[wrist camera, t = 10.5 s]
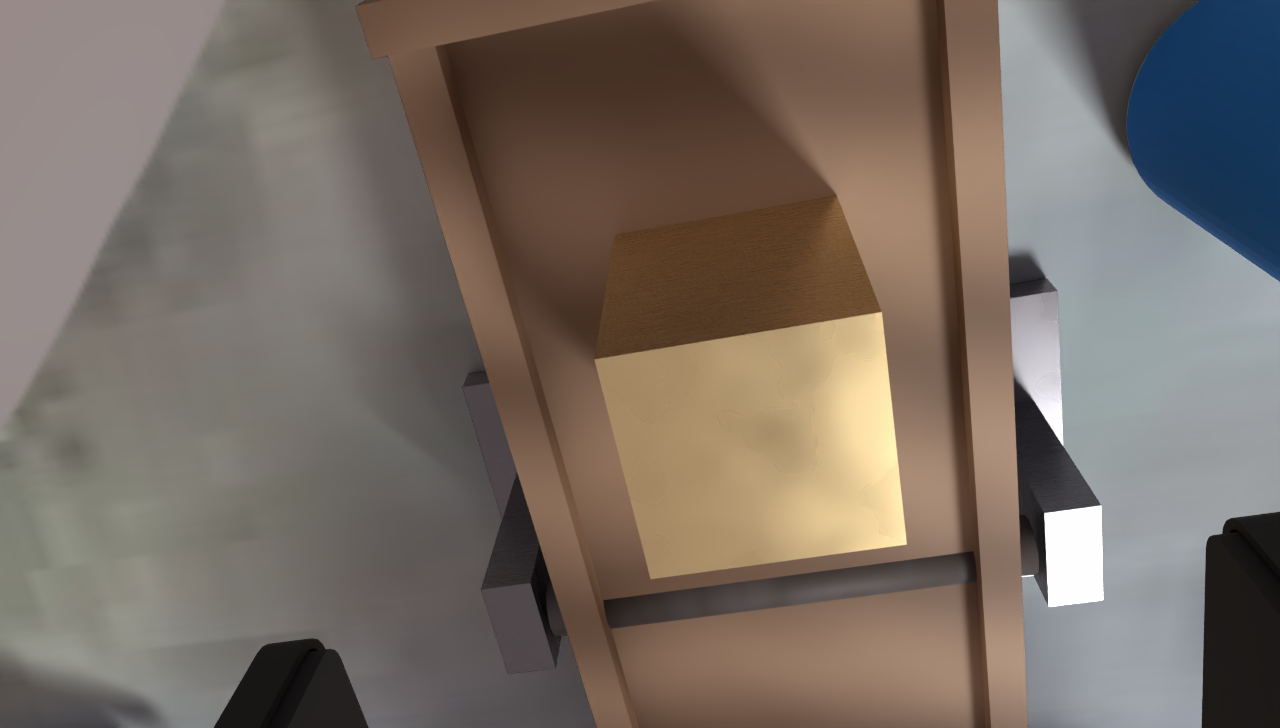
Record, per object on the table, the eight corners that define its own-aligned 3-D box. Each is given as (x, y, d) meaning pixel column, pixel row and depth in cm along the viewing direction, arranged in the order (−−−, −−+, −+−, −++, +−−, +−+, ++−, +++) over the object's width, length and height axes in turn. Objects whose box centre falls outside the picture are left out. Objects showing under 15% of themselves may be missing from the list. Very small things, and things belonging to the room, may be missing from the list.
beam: (1037, 911, 36) (1066, 1004, 34) (666, 944, 38) (665, 1035, 35) (994, -149, 21) (1042, -142, 18) (370, -14, 22) (325, 12, 20)
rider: (860, 389, 25) (906, 544, 20) (658, 420, 26) (650, 579, 20) (836, 194, 23) (881, 312, 18) (614, 234, 23) (594, 359, 18)
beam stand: (1058, 553, 35) (1135, 697, 29) (542, 620, 37) (511, 766, 31) (1046, 278, 31) (1133, 378, 25) (468, 373, 33) (416, 486, 27)
